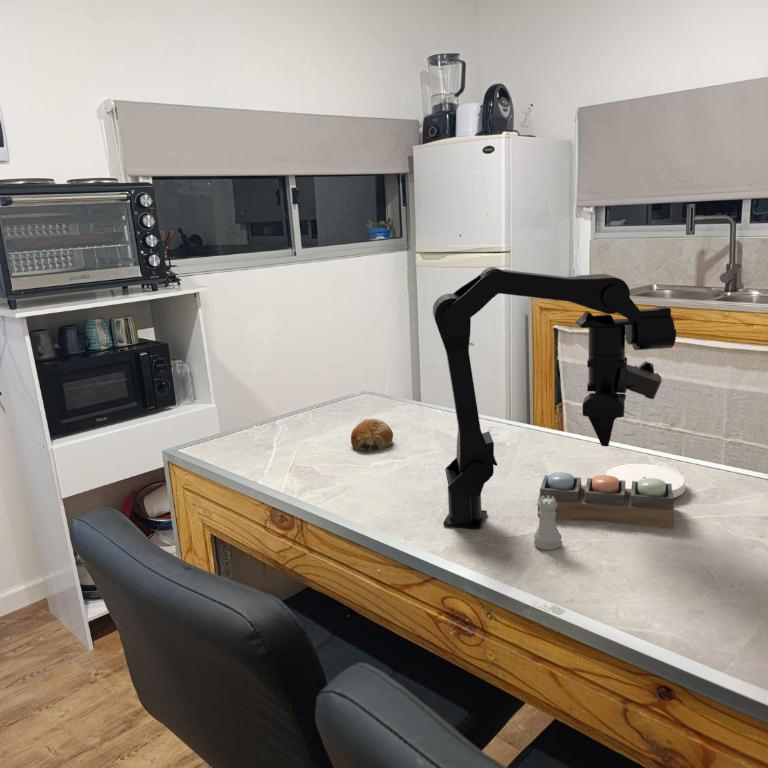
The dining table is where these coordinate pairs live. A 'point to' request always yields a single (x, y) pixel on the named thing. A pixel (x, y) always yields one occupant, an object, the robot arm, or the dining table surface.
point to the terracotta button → (605, 484)
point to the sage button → (651, 487)
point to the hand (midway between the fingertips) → (605, 441)
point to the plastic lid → (648, 475)
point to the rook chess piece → (547, 525)
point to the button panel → (612, 504)
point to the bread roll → (371, 435)
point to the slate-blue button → (561, 481)
